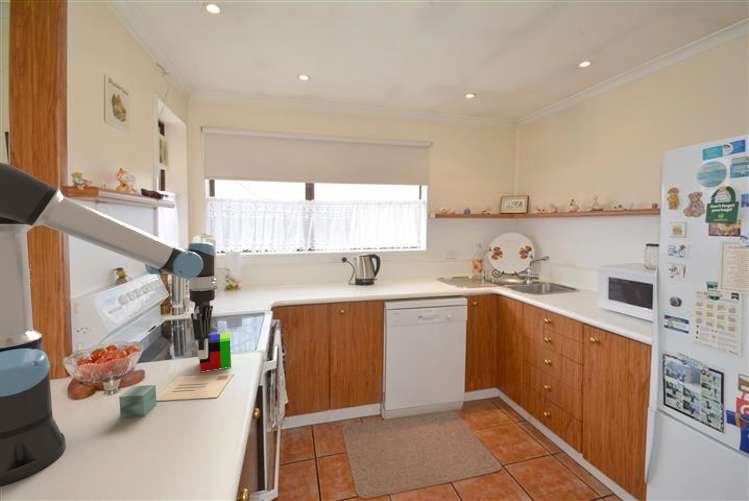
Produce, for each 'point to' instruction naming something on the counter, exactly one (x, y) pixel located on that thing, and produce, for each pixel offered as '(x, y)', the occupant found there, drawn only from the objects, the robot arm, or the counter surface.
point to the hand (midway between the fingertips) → (203, 358)
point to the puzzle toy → (217, 353)
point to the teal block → (137, 401)
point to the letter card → (195, 387)
